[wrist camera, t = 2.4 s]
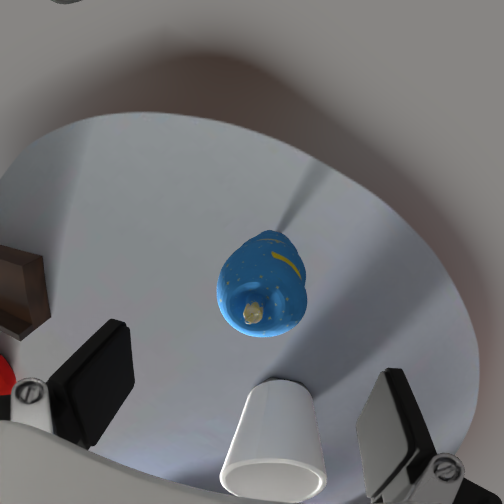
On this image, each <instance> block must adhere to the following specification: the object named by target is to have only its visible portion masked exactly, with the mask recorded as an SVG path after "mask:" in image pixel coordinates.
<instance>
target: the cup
mask: <svg viewBox="0 0 504 504" xmlns="http://www.w3.org/2000/svg"><path fill="white" fill-rule="evenodd" d="M220 482H221V484H222V486H223V487H224V488H225V489H227V490H228V491H229V492H230V493H232V494H234V495H236V496H239V497H245V498H252V499H259V500H267V501H276V502H287V503H296V502H300V501H304V500H307V499H310V498H312V497H313V496H315V495H317V494H319V493H320V492H321V491H322V490H323V489H324V488H325V486H326V484H327V474H326V468H325V463H324V457H323V452H322V446H321V441H320V436H319V430H318V425H317V420H316V415H315V410H314V405H313V400H312V396H311V394H310V393H309V391H308V390H307V389H306V387H305V386H304V385H303V384H302V383H300V382H292V381H288V380H281V379H276V378H269V379H268V380H266V381H264V382H263V383H261V384H260V385H258V386H256V387H254V389H253V390H252V391H251V392H250V393H249V396H248V398H247V401H246V404H245V407H244V410H243V413H242V416H241V418H240V421H239V424H238V427H237V430H236V432H235V435H234V438H233V441H232V444H231V446H230V449H229V452H228V454H227V457H226V460H225V463H224V465H223V468H222V471H221V473H220Z"/></svg>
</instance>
